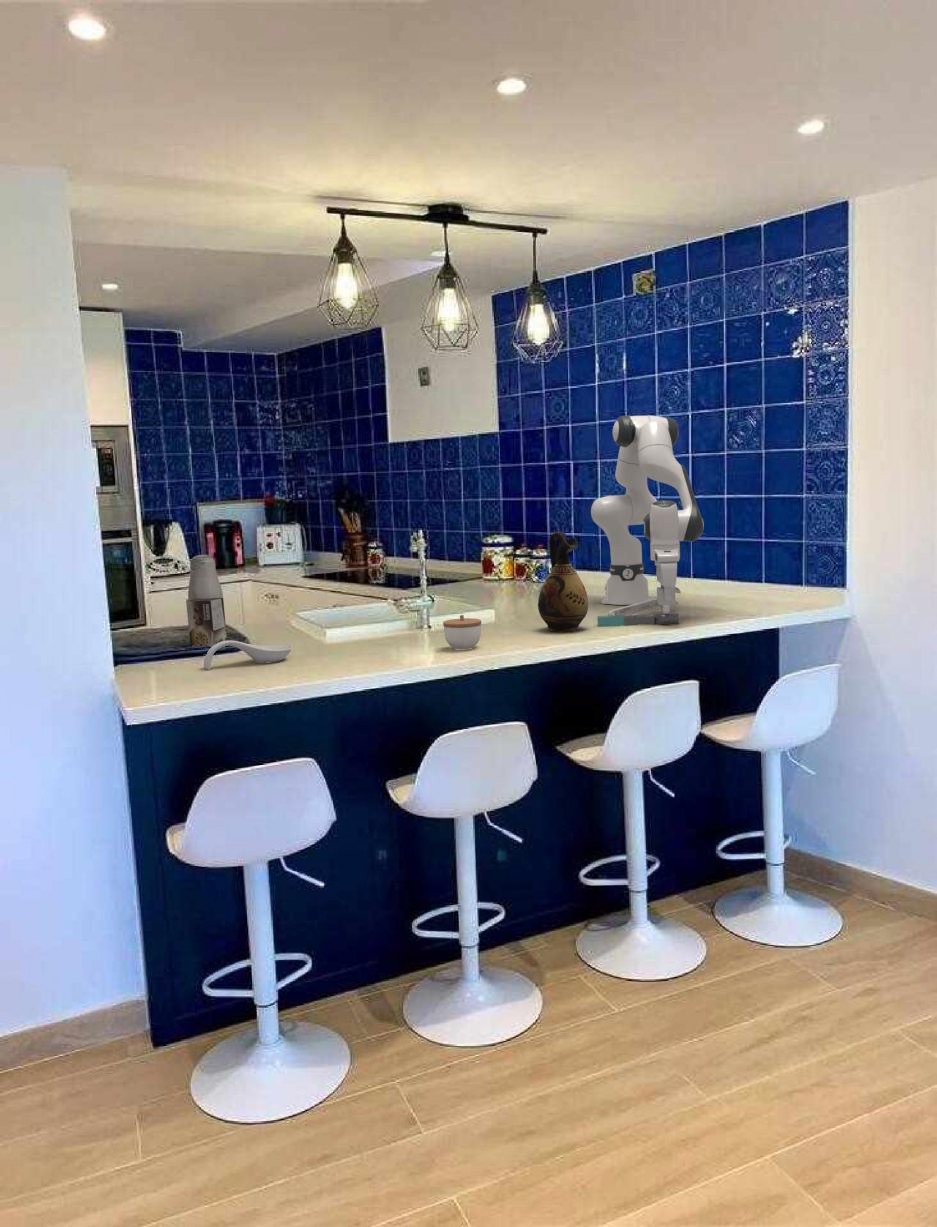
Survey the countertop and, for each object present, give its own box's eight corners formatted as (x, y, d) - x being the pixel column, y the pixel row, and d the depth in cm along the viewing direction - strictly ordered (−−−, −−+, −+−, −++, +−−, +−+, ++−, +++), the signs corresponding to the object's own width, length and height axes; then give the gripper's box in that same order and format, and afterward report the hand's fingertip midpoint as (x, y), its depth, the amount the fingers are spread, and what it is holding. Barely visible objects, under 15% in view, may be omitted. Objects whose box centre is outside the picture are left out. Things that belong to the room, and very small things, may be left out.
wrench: (609, 628, 313) (679, 607, 326) (612, 628, 311) (682, 608, 325) (606, 604, 311) (676, 584, 325) (609, 604, 310) (680, 585, 323)
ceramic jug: (599, 629, 291) (596, 530, 287) (556, 635, 284) (553, 534, 280) (567, 623, 306) (564, 529, 302) (526, 629, 299) (522, 532, 295)
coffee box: (229, 651, 285) (224, 597, 283) (215, 655, 279) (210, 600, 277) (203, 650, 288) (199, 597, 286) (190, 654, 282) (185, 600, 280)
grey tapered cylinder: (201, 641, 307) (193, 553, 303) (231, 640, 305) (224, 552, 302) (187, 646, 298) (179, 556, 294) (218, 646, 296) (210, 555, 292)
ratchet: (597, 623, 303) (596, 604, 302) (677, 620, 301) (677, 601, 300) (598, 627, 295) (597, 608, 294) (681, 624, 293) (680, 605, 292)
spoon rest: (284, 656, 273) (282, 631, 272) (297, 661, 263) (295, 635, 262) (200, 667, 262) (198, 641, 261) (211, 673, 252) (209, 646, 251)
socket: (657, 603, 299) (656, 587, 298) (673, 602, 298) (673, 586, 298) (658, 605, 294) (658, 589, 293) (675, 604, 293) (675, 588, 293)
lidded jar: (485, 644, 274) (483, 612, 273) (478, 651, 264) (477, 617, 263) (448, 645, 276) (447, 613, 275) (440, 651, 266) (439, 618, 265)
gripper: (651, 552, 305) (652, 595, 306) (658, 556, 284) (659, 603, 286) (671, 551, 304) (672, 594, 306) (679, 556, 284) (680, 602, 286)
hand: (666, 598), depth 296 cm, fingers closed on socket, 5 cm apart
